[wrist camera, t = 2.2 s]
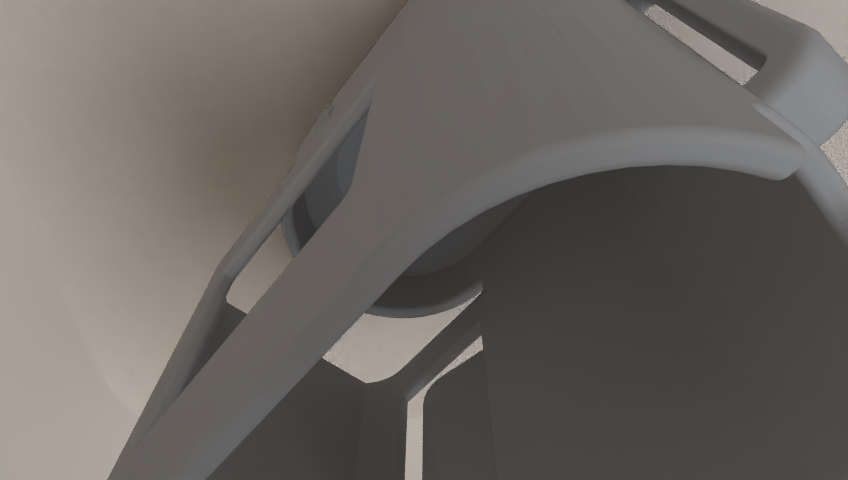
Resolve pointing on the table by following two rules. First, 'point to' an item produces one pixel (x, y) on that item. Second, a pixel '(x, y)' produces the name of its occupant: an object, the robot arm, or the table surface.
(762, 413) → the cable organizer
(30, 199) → the table surface
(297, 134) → the table surface
